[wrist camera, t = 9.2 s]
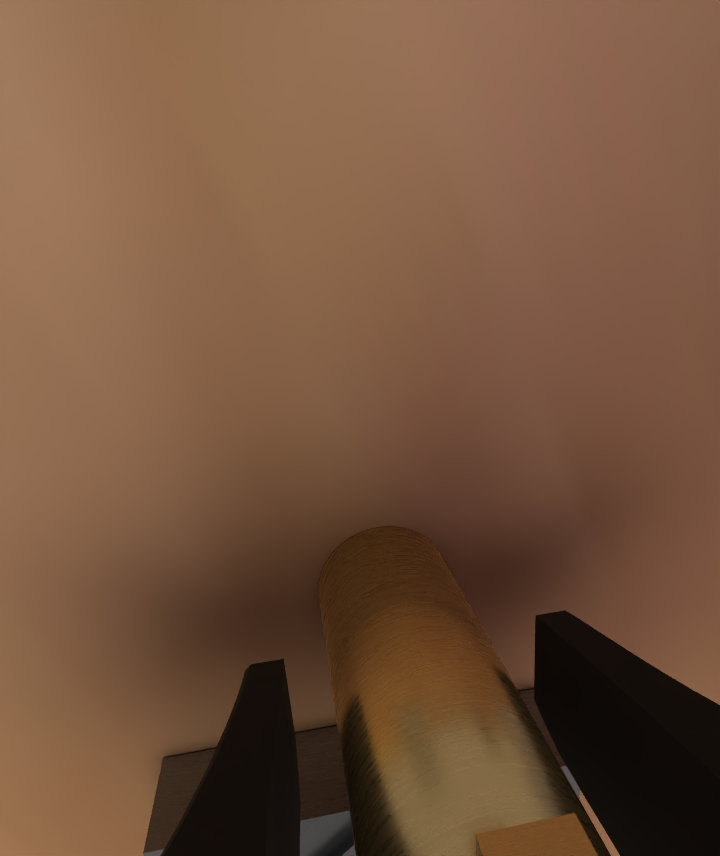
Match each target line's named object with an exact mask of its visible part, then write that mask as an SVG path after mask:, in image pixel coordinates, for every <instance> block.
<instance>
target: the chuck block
mask: <svg viewBox="0 0 720 856" xmlns="http://www.w3.org/2000/svg"><path fill="white" fill-rule="evenodd" d="M519 694H520V696H521V698H522V699H523V701H524V703H525V705H526V706H527V708H528V710H529V712H530V713H531V715H532V717H533V719H534V721H535V722H536V724H537V726H538V728H539V729H540V731H541V733H542V735H543V737H544V738H545V740H546V742H547V744H548V745H549V747H550V749H551V751H552V752H553V754H554V756H555V758H556V760H557V761H558V763H559V765H560V767H561V768H562V770H563V772H564V774H565V775H566V777H567V779H568V781H569V783H570V784H571V786H572V788H573V790H574V791H575V793H576V795H577V797H578V798H579V792H580V788H579V786H578V785H577V783H576V781H575V780H574V778H573V776H572V775H571V773H570V771H569V770H568V768H567V766H566V765H565V763H564V761H563V759H562V758H561V756H560V754H559V752H558V751H557V749H556V746H555V744H554V742H553V740H552V738H551V736H550V734H549V732H548V729H547V727H546V725H545V723H544V721H543V718H542V716H541V714H540V711H539V709H538V707H537V705H536V702H535V700H534V689H529V690H524V691H519ZM295 739H296V747H297V760H298V773H299V787H300V801H301V816H300V856H342V855H343V854H344V853H345V852H346V851H348V850H349V849H350V848H351V847H352V846H353V845H354V840H353V833H352V826H351V819H350V812H349V805H348V798H347V791H346V784H345V777H344V770H343V763H342V756H341V749H340V742H339V735H338V728H337V726H333V727H328V728H322V729H317V730H312V731H306V732H301V733H296V734H295ZM215 750H216V749H211V750H205V751H200V752H195V753H189V754H184V755H179V756H173V757H168V758H163V761H162V766H161V771H160V776H159V780H158V785H157V790H156V795H155V800H154V804H153V809H152V814H151V819H150V823H149V828H148V833H147V838H146V842H145V847H144V852H143V854H144V856H161V854H162V852H163V850H164V849H165V847H166V845H167V844H168V842H169V840H170V838H171V837H172V835H173V833H174V831H175V829H176V828H177V826H178V824H179V822H180V820H181V819H182V817H183V815H184V813H185V811H186V809H187V807H188V805H189V803H190V801H191V799H192V797H193V795H194V793H195V791H196V789H197V787H198V785H199V783H200V782H201V780H202V778H203V776H204V774H205V772H206V770H207V767H208V765H209V763H210V761H211V759H212V756H213V754H214V752H215Z"/></svg>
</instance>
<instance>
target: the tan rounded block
mask: <svg viewBox="0 0 720 856" xmlns="http://www.w3.org/2000/svg"><path fill="white" fill-rule="evenodd" d="M318 592H319V602H320V609H321V616H322V623H323V630H324V637H325V644H326V651H327V658H328V665H329V672H330V679H331V686H332V693H333V700H334V707H335V714H336V721H337V728H338V735H339V742H340V749H341V756H342V763H343V770H344V777H345V784H346V791H347V798H348V805H349V812H350V819H351V826H352V833H353V840H354V847H355V854H356V856H611V855H610V853H609V852H608V850H607V848H606V846H605V844H604V843H603V841H602V839H601V837H600V836H599V834H598V832H597V830H596V829H595V827H594V825H593V823H592V821H591V820H590V818H589V816H588V814H587V813H586V811H585V809H584V807H583V806H582V804H581V802H580V800H579V798H578V797H577V795H576V793H575V791H574V790H573V788H572V786H571V784H570V783H569V781H568V779H567V777H566V775H565V774H564V772H563V770H562V768H561V767H560V765H559V763H558V761H557V760H556V758H555V756H554V754H553V752H552V751H551V749H550V747H549V745H548V744H547V742H546V740H545V738H544V737H543V735H542V733H541V731H540V729H539V728H538V726H537V724H536V722H535V721H534V719H533V717H532V715H531V713H530V712H529V710H528V708H527V706H526V705H525V703H524V701H523V699H522V698H521V696H520V694H519V692H518V690H517V689H516V687H515V685H514V683H513V682H512V680H511V678H510V676H509V675H508V673H507V671H506V669H505V667H504V666H503V664H502V662H501V660H500V659H499V657H498V655H497V653H496V652H495V650H494V648H493V646H492V644H491V643H490V641H489V639H488V637H487V636H486V634H485V632H484V630H483V629H482V627H481V625H480V623H479V621H478V620H477V618H476V616H475V614H474V613H473V611H472V609H471V607H470V606H469V604H468V602H467V600H466V598H465V597H464V595H463V593H462V591H461V590H460V588H459V586H458V584H457V583H456V581H455V579H454V577H453V575H452V574H451V572H450V570H449V568H448V567H447V565H446V563H445V561H444V560H443V558H442V556H441V554H440V553H439V551H438V550H437V548H436V547H435V546H434V545H433V544H432V543H431V542H430V541H429V540H428V539H427V538H425V537H424V536H422V535H420V534H419V533H416V532H414V531H412V530H408V529H405V528H399V527H379V528H374V529H369V530H366V531H363V532H361V533H359V534H357V535H354V536H353V537H351V538H349V539H348V540H346V541H345V542H344V543H342V544H341V545H340V546H339V547H338V548H337V549H336V550H335V551H334V552H333V553H332V554H331V556H330V557H329V558H328V560H327V562H326V563H325V565H324V567H323V570H322V572H321V576H320V579H319V587H318Z"/></svg>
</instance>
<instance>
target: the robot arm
mask: <svg viewBox="0 0 720 856" xmlns="http://www.w3.org/2000/svg"><path fill="white" fill-rule="evenodd" d="M534 700H535V702H536V705H537V707H538V709H539V711H540V714H541V716H542V718H543V721H544V723H545V725H546V727H547V729H548V732H549V734H550V736H551V738H552V740H553V742H554V744H555V746H556V749H557V751H558V752H559V754H560V756H561V758H562V759H563V761H564V763H565V765H566V766H567V768H568V770H569V771H570V773H571V775H572V776H573V778H574V780H575V781H576V783H577V785H578V786H579V788H580V790H581V791H582V793H583V795H584V796H585V798H586V800H587V801H588V803H589V805H590V806H591V808H592V810H593V811H594V813H595V815H596V816H597V818H598V819H599V821H600V823H601V824H602V826H603V828H604V829H605V831H606V833H607V834H608V836H609V838H610V839H611V841H612V843H613V844H614V846H615V848H616V849H617V851H618V853H619V854H620V856H720V705H718V704H717V703H715V702H713V701H711V700H710V699H708V698H706V697H704V696H702V695H701V694H699V693H697V692H695V691H693V690H692V689H690V688H688V687H687V686H685V685H683V684H682V683H680V682H678V681H676V680H675V679H673V678H671V677H670V676H668V675H666V674H665V673H663V672H661V671H660V670H658V669H657V668H655V667H653V666H652V665H650V664H649V663H647V662H645V661H644V660H642V659H641V658H639V657H637V656H636V655H634V654H633V653H631V652H629V651H628V650H626V649H625V648H623V647H622V646H620V645H619V644H617V643H615V642H614V641H612V640H611V639H609V638H608V637H606V636H605V635H603V634H602V633H600V632H598V631H597V630H595V629H594V628H592V627H591V626H589V625H588V624H586V623H584V622H583V621H581V620H580V619H578V618H577V617H575V616H573V615H572V614H570V613H568V612H567V611H559V612H553V613H548V614H542V615H536V622H535V677H534ZM300 816H301V801H300V787H299V773H298V760H297V747H296V739H295V732H294V726H293V719H292V712H291V706H290V699H289V692H288V686H287V679H286V672H285V665H284V659H280V660H274V661H268V662H263V663H257V664H251V665H250V666H249V667H248V668H247V669H246V671H245V674H244V677H243V681H242V684H241V687H240V690H239V693H238V696H237V699H236V702H235V704H234V707H233V710H232V712H231V715H230V717H229V720H228V722H227V725H226V727H225V729H224V732H223V734H222V736H221V738H220V741H219V743H218V745H217V747H216V750H215V752H214V754H213V756H212V759H211V761H210V763H209V765H208V767H207V770H206V772H205V774H204V776H203V778H202V780H201V782H200V783H199V785H198V787H197V789H196V791H195V793H194V795H193V797H192V799H191V801H190V803H189V805H188V807H187V809H186V811H185V813H184V815H183V817H182V819H181V820H180V822H179V824H178V826H177V828H176V829H175V831H174V833H173V835H172V837H171V838H170V840H169V842H168V844H167V845H166V847H165V849H164V850H163V852H162V854H161V856H300Z"/></svg>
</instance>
